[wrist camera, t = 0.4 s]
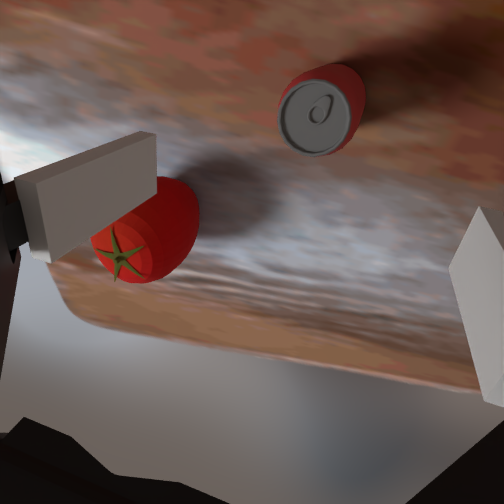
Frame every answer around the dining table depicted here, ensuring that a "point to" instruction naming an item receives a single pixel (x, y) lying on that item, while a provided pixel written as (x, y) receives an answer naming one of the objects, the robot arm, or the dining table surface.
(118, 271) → the tomato
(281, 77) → the dining table surface
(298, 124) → the beer can
